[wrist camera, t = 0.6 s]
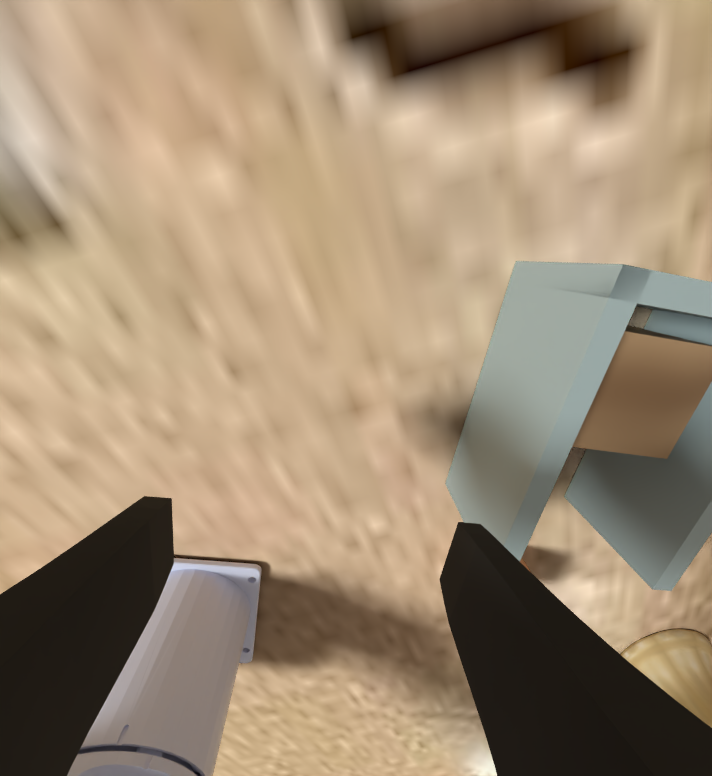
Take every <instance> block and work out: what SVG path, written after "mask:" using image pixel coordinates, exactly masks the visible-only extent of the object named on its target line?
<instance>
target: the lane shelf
mask: <svg viewBox="0 0 712 776" xmlns="http://www.w3.org/2000/svg"><path fill="white" fill-rule="evenodd" d="M636 306H638V307H644V308H649V309H653V310H652V312H651V314H650V316H649V318H648V321H647V323H646V325H645V327H644V329H645V330H649V331H653V332H658V333H662V334H666V335H670V336H675V337H679V338H683V339H687V340H691V341H696V342H700V343H704V344H708V345H712V282H708V281H703V280H698V279H693V278H688V277H683V276H678V275H673V274H668V273H663V272H658V271H653V270H649V269H644V268H639V267H634V266H629V265H624V264H593V263H560V262H527V261H516V263H515V266H514V269H513V272H512V275H511V278H510V281H509V285H508V288H507V291H506V294H505V297H504V300H503V303H502V307H501V310H500V313H499V316H498V319H497V322H496V326H495V329H494V332H493V335H492V338H491V341H490V344H489V348H488V351H487V354H486V357H485V360H484V363H483V367H482V370H481V373H480V376H479V379H478V382H477V385H476V389H475V392H474V395H473V398H472V401H471V404H470V408H469V411H468V414H467V417H466V420H465V423H464V426H463V430H462V433H461V436H460V439H459V442H458V445H457V448H456V452H455V455H454V458H453V461H452V464H451V467H450V471H449V474H448V477H447V480H446V483H445V484H446V486H447V488H448V490H449V492H450V494H451V497H452V499H453V501H454V503H455V505H456V507H457V509H458V511H459V513H460V515H461V517H462V519H463V521H464V523H477V524H481V525H482V526H483V527H485V528H486V529H487V530H488V531H489V532H490V533H491V534H492V535H493V536H494V537H495V538H496V539H497V540H498V541H499V542H500V543H501V544H502V545H503V546H504V547H505V548H506V549H507V550H508V551H509V552H510V553H511V554H512V555H514V556H515V557H516V558H517V559H518V560H519V561H520V560H521V558H522V556H523V553H524V551H525V549H526V547H527V545H528V542H529V540H530V538H531V536H532V534H533V531H534V529H535V527H536V525H537V523H538V520H539V518H540V516H541V514H542V512H543V509H544V507H545V505H546V503H547V501H548V499H549V496H550V494H551V492H552V490H553V488H554V485H555V483H556V481H557V479H558V477H559V474H560V472H561V470H562V468H563V466H564V463H565V461H566V459H567V457H568V455H569V452H570V450H571V448H572V446H573V444H574V441H575V439H576V437H577V435H578V433H579V430H580V428H581V426H582V424H583V422H584V419H585V417H586V415H587V413H588V411H589V408H590V406H591V404H592V402H593V400H594V397H595V395H596V393H597V391H598V389H599V386H600V384H601V382H602V380H603V378H604V375H605V373H606V371H607V369H608V367H609V364H610V362H611V360H612V358H613V356H614V353H615V351H616V349H617V347H618V345H619V342H620V340H621V338H622V336H623V334H624V331H625V329H626V327H627V325H628V323H629V320H630V318H631V316H632V314H633V312H634V309H635V307H636ZM564 497H565V498H566V499H567V500H568V501H569V502H570V503H571V504H572V506H573V507H574V508H575V509H576V510H577V511H578V512H579V513H580V514H581V515H582V516H583V517H584V518H585V519H586V520H587V521H588V522H589V523H590V524H591V525H592V526H593V528H594V529H595V530H596V531H597V532H598V533H599V534H600V535H601V536H602V537H603V538H604V539H605V540H606V541H607V542H608V543H609V544H610V545H611V546H612V547H613V549H614V550H615V551H616V552H617V553H618V554H619V555H620V556H621V557H622V558H623V559H624V560H625V561H626V562H627V563H628V564H629V565H630V566H631V567H632V568H633V569H634V571H635V572H636V573H637V574H638V575H639V576H640V577H641V578H642V579H643V580H644V581H645V582H646V583H647V584H648V585H649V586H650V587H651V588H652V589H654V590H667V591H672V589H673V588H674V586H675V585H676V583H677V582H678V581H679V579H680V578H681V576H682V575H683V573H684V572H685V570H686V569H687V568H688V566H689V565H690V563H691V562H692V560H693V559H694V557H695V556H696V555H697V553H698V552H699V550H700V549H701V547H702V546H703V544H704V543H705V542H706V540H707V539H708V537H709V536H710V534H711V533H712V382H711V384H710V385H709V387H708V389H707V391H706V392H705V394H704V396H703V398H702V399H701V401H700V403H699V404H698V406H697V408H696V410H695V411H694V413H693V415H692V417H691V418H690V420H689V422H688V424H687V425H686V427H685V429H684V430H683V432H682V434H681V436H680V437H679V439H678V441H677V443H676V444H675V446H674V448H673V450H672V451H671V453H670V455H669V456H668V458H667V459H664V458H656V457H648V456H640V455H632V454H625V453H617V452H609V451H601V450H593V449H586V451H585V454H584V456H583V458H582V460H581V462H580V464H579V466H578V468H577V470H576V473H575V475H574V477H573V479H572V481H571V483H570V485H569V487H568V489H567V492H566V494H565V496H564Z"/></svg>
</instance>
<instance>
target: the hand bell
mask: <svg viewBox="0 0 712 776" xmlns="http://www.w3.org/2000/svg"><path fill="white" fill-rule="evenodd" d="M620 655H621V656H622V657H624V658H625V659H626V660H627V661H628V662H629V663H631V664H632V665H633V666H634V667H635V668H637V669H638V670H639V671H640V672H642V673H643V674H644V675H645V676H647V677H648V678H649V679H650V680H652V681H653V682H654V683H655V684H656V685H658V686H659V687H660V688H661V689H663V690H664V691H665V692H666V693H668V694H669V695H670V696H671V697H672V698H674V699H675V700H676V701H677V702H679V703H680V704H681V705H683V706H684V707H685V708H686V709H688V710H689V711H690V712H692V713H693V714H694V715H696V716H697V717H698V718H699V719H701V720H702V721H703V722H705V723H706V724H707V725H709V726H710V727H711V728H712V646H711V643H710V642H709V640H708V639H707V638H706V637H705V636H704V635H702V634H700V633H699V632H696V631H692V630H687V629H671V630H665V631H661V632H658V633H654V634H652V635H650V636H647V637H644V638H642V639H640V640H638V641H636V642H634V643H633V644H631V645H630V646H629V647H628V648H626V649H625V650H624V651H623V652H622V653H621V654H620Z"/></svg>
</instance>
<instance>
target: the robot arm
mask: <svg viewBox="0 0 712 776" xmlns="http://www.w3.org/2000/svg"><path fill="white" fill-rule="evenodd" d="M253 577H254V578H253ZM260 581H261V567H260V566H259V565H257V564H249V563H236V562H222V561H209V560H195V559H182V558H174V549H173V524H172V499H171V498H160V497H147V496H144V497H143V498H141V499H140V500H138V501H137V502H136V503H134V504H133V505H131V506H130V507H128V508H127V509H126V510H124V511H123V512H121V513H120V514H118V515H117V516H116V517H114V518H113V519H111V520H110V521H108V522H107V523H106V524H104V525H103V526H101V527H100V528H99V529H97V530H96V531H94V532H93V533H91V534H90V535H89V536H87V537H86V538H84V539H83V540H81V541H80V542H79V543H77V544H76V545H74V546H73V547H71V548H70V549H68V550H67V551H65V552H64V553H63V554H61V555H60V556H58V557H57V558H55V559H54V560H52V561H51V562H49V563H48V564H46V565H45V566H44V567H42V568H41V569H39V570H37V571H36V572H34V573H33V574H31V575H30V576H28V577H27V578H25V579H23V580H22V581H20V582H19V583H17V584H16V585H14V586H13V587H11V588H9V589H8V590H6V591H5V592H3V593H2V594H0V776H213V772H214V768H215V764H216V759H217V755H218V751H219V746H220V742H221V738H222V734H223V729H224V725H225V721H226V717H227V712H228V708H229V704H230V699H231V695H232V691H233V687H234V682H235V678H236V674H237V669H238V665H239V663H249V662H250V661H252V658H253V652H254V642H255V632H256V622H257V611H258V601H259V591H260ZM440 584H441V589H442V594H443V599H444V604H445V608H446V612H447V617H448V621H449V625H450V628H451V631H452V634H453V637H454V641H455V644H456V647H457V650H458V653H459V656H460V659H461V662H462V665H463V668H464V671H465V674H466V677H467V680H468V683H469V686H470V689H471V692H472V695H473V698H474V701H475V704H476V707H477V710H478V713H479V716H480V719H481V722H482V725H483V728H484V731H485V734H486V738H487V741H488V744H489V748H490V751H491V754H492V758H493V761H494V764H495V768H496V772H497V776H712V728H711V727H710V726H709V725H707V724H706V723H705V722H703V721H702V720H701V719H699V718H698V717H697V716H696V715H694V714H693V713H692V712H690V711H689V710H688V709H686V708H685V707H684V706H683V705H681V704H680V703H679V702H677V701H676V700H675V699H674V698H672V697H671V696H670V695H669V694H668V693H666V692H665V691H664V690H663V689H661V688H660V687H659V686H658V685H656V684H655V683H654V682H653V681H652V680H650V679H649V678H648V677H647V676H645V675H644V674H643V673H642V672H640V671H639V670H638V669H637V668H635V667H634V666H633V665H632V664H631V663H629V662H628V661H627V660H626V659H625V658H624V657H622V656H621V655H620V654H619V653H618V652H616V651H615V650H614V649H613V648H612V647H611V646H610V645H608V644H607V643H606V642H605V641H604V640H603V639H602V638H601V637H599V636H598V635H597V634H596V633H595V632H594V631H593V630H592V629H590V628H589V627H588V626H587V625H586V624H585V623H584V622H583V621H581V620H580V619H579V618H578V617H577V616H576V615H575V614H574V613H573V612H572V611H571V610H570V609H568V608H567V607H566V606H565V605H564V604H563V603H562V602H561V601H560V600H559V599H558V598H557V597H556V596H555V595H554V594H552V593H551V592H550V591H549V590H548V589H547V588H546V587H545V586H544V585H543V584H542V583H541V582H540V581H539V580H538V579H537V578H536V577H535V576H534V575H533V574H532V573H531V572H530V571H529V570H528V569H527V568H526V567H525V566H524V565H523V564H522V563H521V562H520V561H519V560H518V559H517V558H516V557H515V556H514V555H512V554H511V553H510V552H509V551H508V550H507V549H506V548H505V547H504V546H503V545H502V544H501V543H500V542H499V541H498V540H497V539H496V538H495V537H494V536H493V535H492V534H491V533H490V532H489V531H488V530H487V529H486V528H485V527H483V526H482V525H481V524H477V523H464V522H458V525H457V528H456V531H455V534H454V537H453V540H452V543H451V546H450V549H449V552H448V555H447V558H446V561H445V565H444V568H443V571H442V574H441V577H440Z"/></svg>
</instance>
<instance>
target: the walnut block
mask: <svg viewBox="0 0 712 776" xmlns="http://www.w3.org/2000/svg"><path fill="white" fill-rule="evenodd" d="M711 382H712V345H708V344H704V343H700V342H696V341H691V340H687V339H683V338H679V337H675V336H670V335H666V334H662V333H658V332H653V331H649V330H645V329H641V328H637V327H632V326H628V325H627V327H626V329H625V331H624V334H623V336H622V338H621V340H620V342H619V345H618V347H617V349H616V351H615V353H614V356H613V358H612V360H611V362H610V364H609V367H608V369H607V371H606V373H605V375H604V378H603V380H602V382H601V384H600V386H599V389H598V391H597V393H596V395H595V397H594V400H593V402H592V404H591V406H590V408H589V411H588V413H587V415H586V417H585V419H584V422H583V424H582V426H581V428H580V430H579V433H578V435H577V437H576V439H575V441H574V444H573V446H572V447H578V448H585V449H593V450H601V451H609V452H617V453H625V454H632V455H640V456H648V457H656V458H664V459H667V458H668V456H669V455H670V453H671V451H672V450H673V448H674V446H675V444H676V443H677V441H678V439H679V437H680V436H681V434H682V432H683V430H684V429H685V427H686V425H687V424H688V422H689V420H690V418H691V417H692V415H693V413H694V411H695V410H696V408H697V406H698V404H699V403H700V401H701V399H702V398H703V396H704V394H705V392H706V391H707V389H708V387H709V385H710V384H711ZM520 562H521V563H522V564H523V565H524V566H525V567H526V568H527V569H528V570H529V568H528V567H527V565H526V563H525V562H524V560H523V559H522V558H521V560H520ZM529 571H530V570H529Z"/></svg>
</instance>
